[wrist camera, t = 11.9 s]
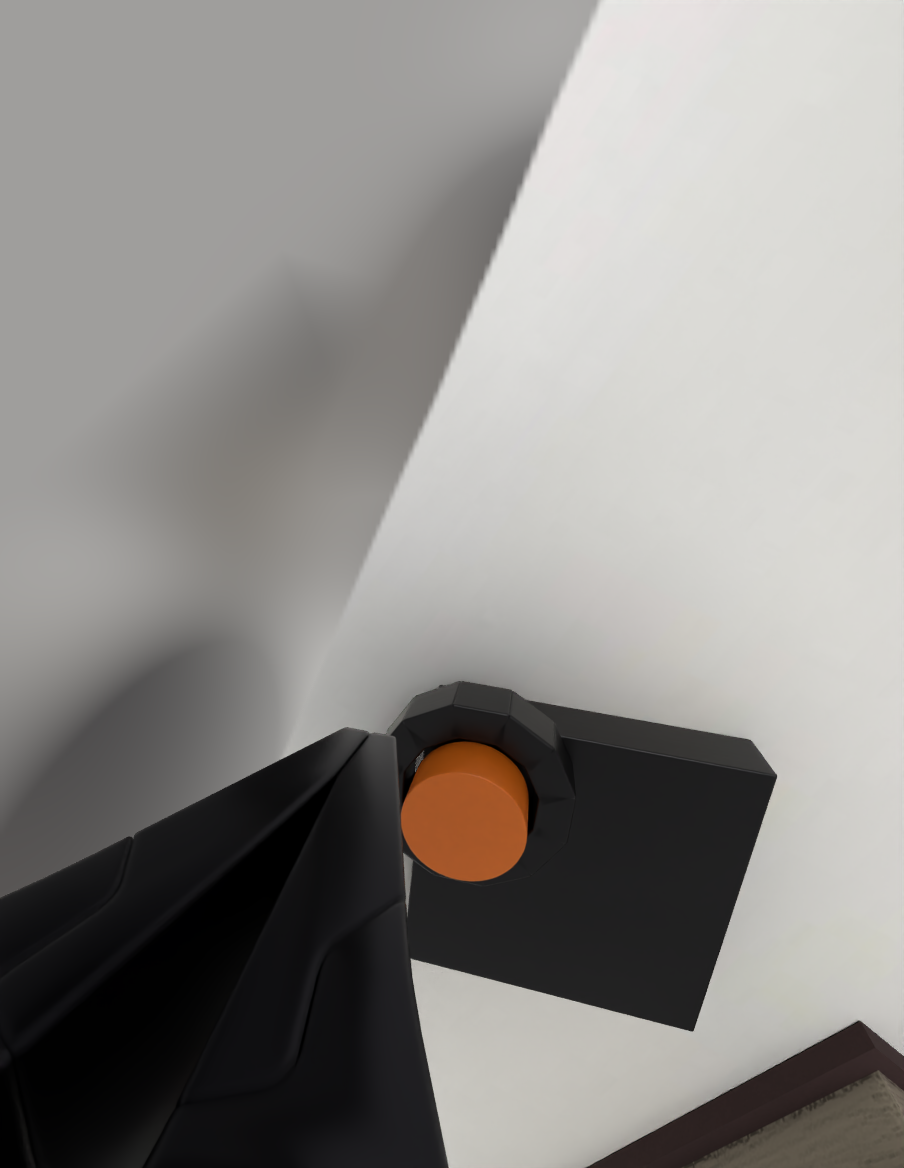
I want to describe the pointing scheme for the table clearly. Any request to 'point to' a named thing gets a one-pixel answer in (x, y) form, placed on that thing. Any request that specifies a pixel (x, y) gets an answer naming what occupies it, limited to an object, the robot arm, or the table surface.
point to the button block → (593, 853)
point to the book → (793, 1115)
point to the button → (467, 812)
